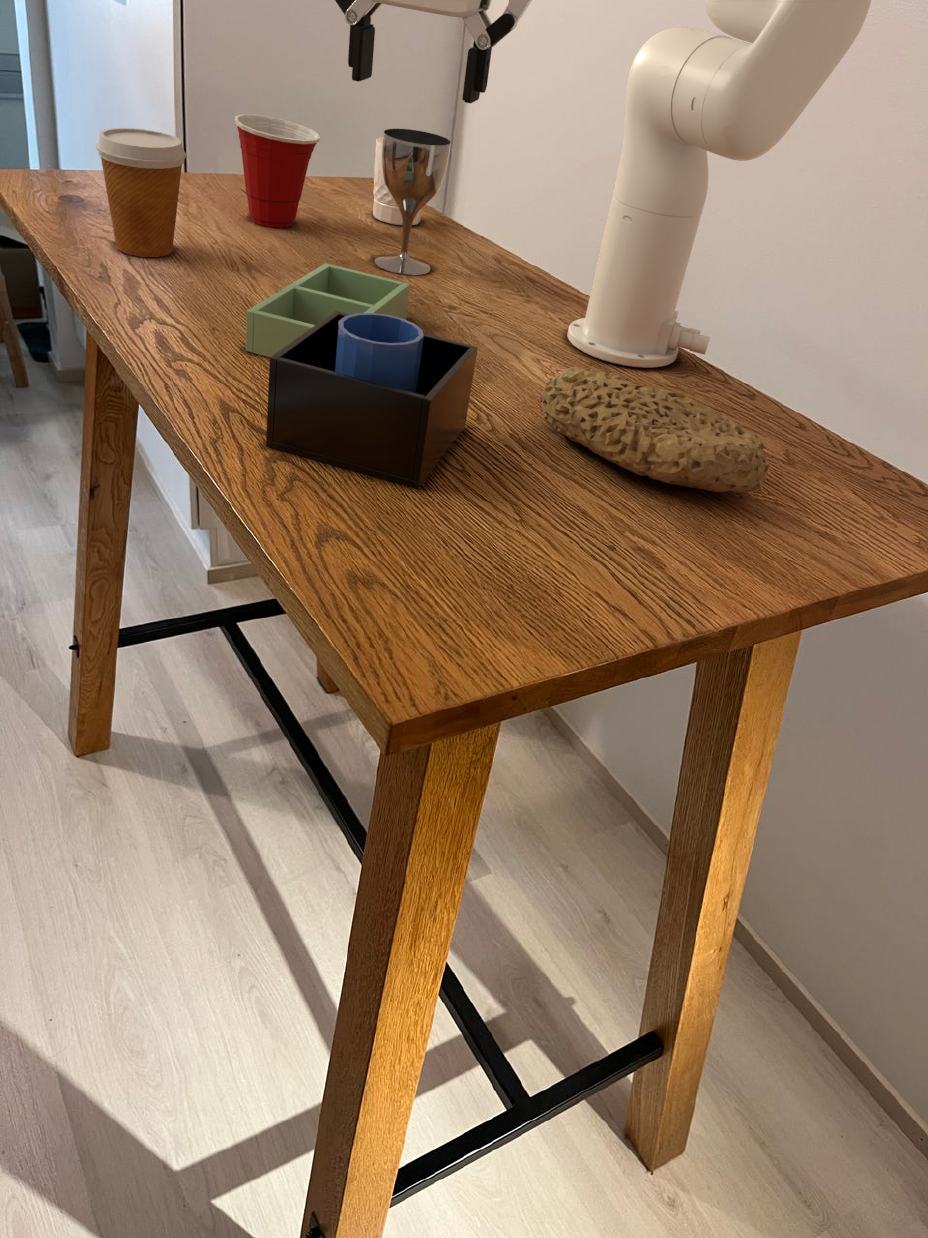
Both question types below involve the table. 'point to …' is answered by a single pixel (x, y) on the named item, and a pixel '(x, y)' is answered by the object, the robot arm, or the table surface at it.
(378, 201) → the white cup
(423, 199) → the wine glass
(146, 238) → the disposable coffee cup
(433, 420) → the open box
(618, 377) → the sponge
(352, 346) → the blue cup
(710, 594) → the table surface
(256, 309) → the green divided tray
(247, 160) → the plastic cup
